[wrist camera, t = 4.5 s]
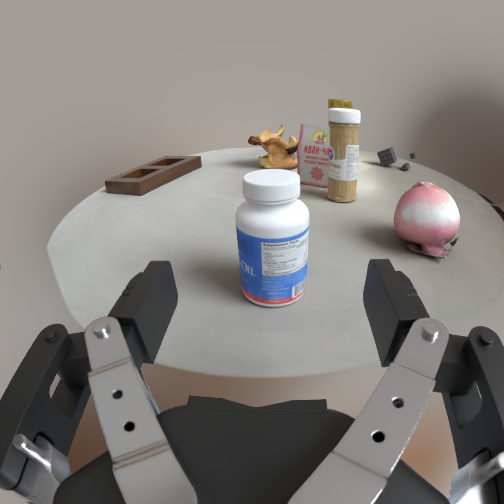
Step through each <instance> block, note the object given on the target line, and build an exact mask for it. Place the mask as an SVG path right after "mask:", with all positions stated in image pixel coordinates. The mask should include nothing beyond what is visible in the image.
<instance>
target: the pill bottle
mask: <svg viewBox="0 0 504 504" xmlns="http://www.w3.org/2000/svg"><path fill="white" fill-rule="evenodd" d="M243 194H244V198H245V199H246V201H245V202H243V203H242V204H241V205H240V206H239V207H238V209H237V211H236V230H237V240H238V250H239V262H240V273H241V284H242V290H243V292H244V294H245V296H246V297H247V298H248V299H249V300H250V301H252V302H254V303H256V304H258V305H262V306H267V307H280V306H286V305H289V304H291V303H293V302H295V301H297V300H298V299H299V298H300V297H301V296H302V295H303V293H304V291H305V287H306V277H307V257H308V236H309V211H308V209H307V207H306V205H305V204H304V203H303V202H301V201H300V200H298V199H297V198H298V197H299V195H300V176H299V175H298V174H297V173H295V172H293V171H289V170H284V169H263V170H257V171H252V172H249V173H247V174H245V175H244V176H243Z"/></svg>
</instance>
